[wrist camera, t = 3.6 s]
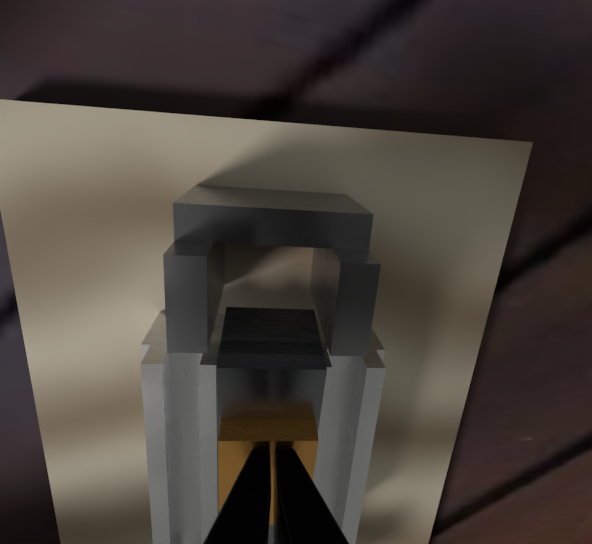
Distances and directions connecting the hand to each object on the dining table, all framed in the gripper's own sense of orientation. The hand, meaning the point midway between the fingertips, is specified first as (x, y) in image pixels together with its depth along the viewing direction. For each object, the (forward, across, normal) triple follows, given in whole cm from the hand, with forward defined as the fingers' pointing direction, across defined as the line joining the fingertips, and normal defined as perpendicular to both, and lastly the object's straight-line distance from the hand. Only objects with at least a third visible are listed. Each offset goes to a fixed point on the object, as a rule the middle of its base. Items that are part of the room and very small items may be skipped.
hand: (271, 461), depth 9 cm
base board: (+8, 0, +5) cm, 9 cm away
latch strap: (+4, 0, +6) cm, 7 cm away
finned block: (+7, 0, +5) cm, 8 cm away
